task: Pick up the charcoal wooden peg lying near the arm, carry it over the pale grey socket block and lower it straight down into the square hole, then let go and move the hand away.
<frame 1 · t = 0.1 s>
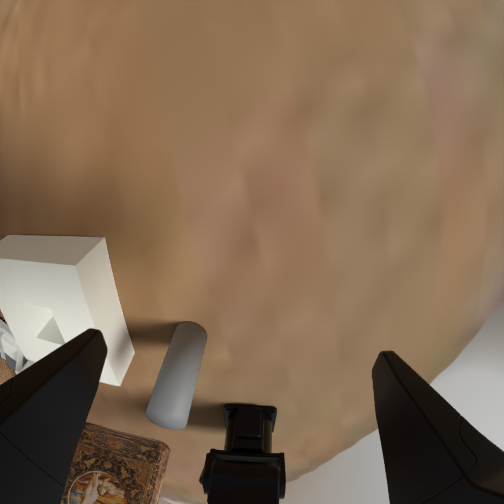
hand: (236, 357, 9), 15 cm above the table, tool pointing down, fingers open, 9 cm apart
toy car: (10, 336, 33), on the table
socket block: (66, 295, 27), on the table
book: (127, 438, 42), on the table
peg: (191, 333, 28), on the table
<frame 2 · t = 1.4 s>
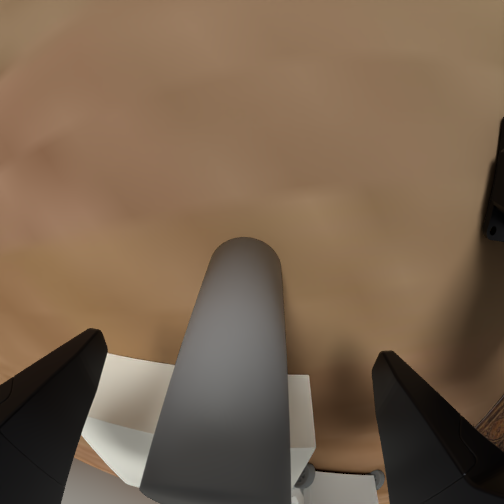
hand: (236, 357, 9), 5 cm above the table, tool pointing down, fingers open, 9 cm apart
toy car: (300, 485, 28), on the table
socket block: (200, 423, 20), on the table
peg: (245, 270, 13), on the table
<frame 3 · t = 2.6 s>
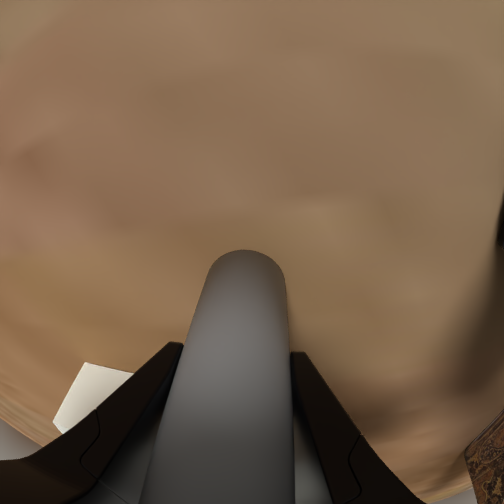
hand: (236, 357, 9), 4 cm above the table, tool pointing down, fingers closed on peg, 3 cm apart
socket block: (199, 436, 19), on the table
peg: (245, 285, 12), on the table, touching gripper
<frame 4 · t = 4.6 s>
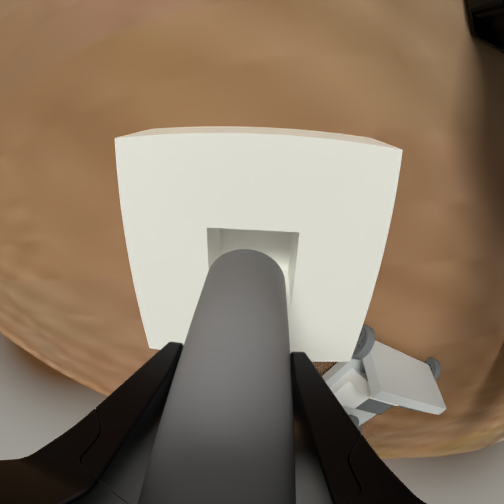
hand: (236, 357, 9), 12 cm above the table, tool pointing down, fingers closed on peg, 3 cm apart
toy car: (345, 389, 29), on the table
socket block: (256, 231, 20), on the table
peg: (245, 284, 12), point 8 cm above the table, touching gripper
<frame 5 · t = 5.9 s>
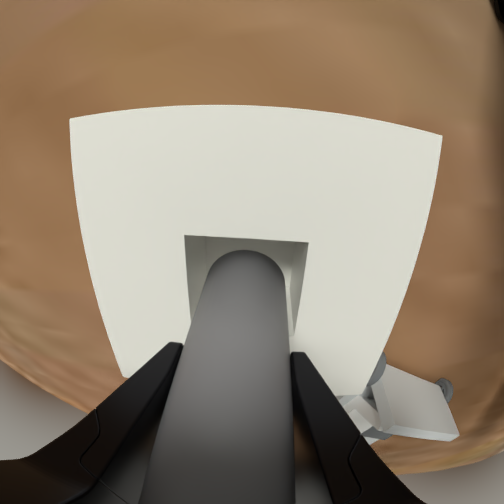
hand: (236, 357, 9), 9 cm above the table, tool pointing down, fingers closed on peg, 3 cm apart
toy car: (347, 412, 25), on the table
socket block: (250, 239, 16), on the table
peg: (245, 285, 12), point 5 cm above the table, touching gripper
when the fingers open (7 cm above the table, at t = 6.8 s): peg drops 2 cm, resting on socket block.
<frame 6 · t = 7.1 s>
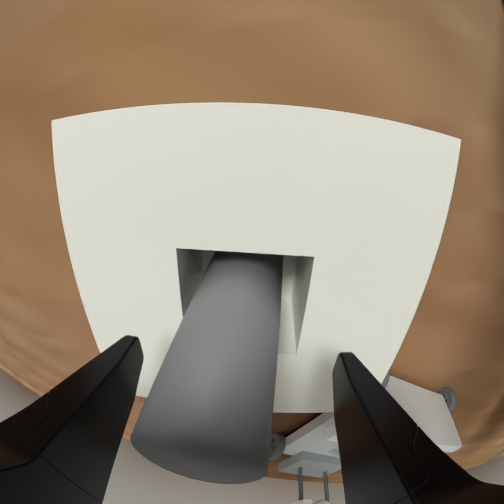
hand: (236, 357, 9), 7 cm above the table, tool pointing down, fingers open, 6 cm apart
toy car: (347, 422, 24), on the table
socket block: (250, 248, 15), on the table
peg: (249, 257, 14), point 1 cm above the table, touching socket block
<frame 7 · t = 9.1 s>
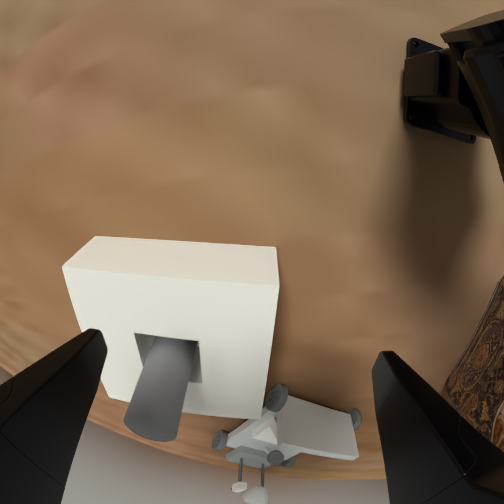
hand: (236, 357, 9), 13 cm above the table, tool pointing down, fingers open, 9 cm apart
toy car: (276, 426, 33), on the table
socket block: (183, 317, 24), on the table
book: (486, 332, 25), on the table
peg: (181, 324, 23), point 1 cm above the table, touching socket block
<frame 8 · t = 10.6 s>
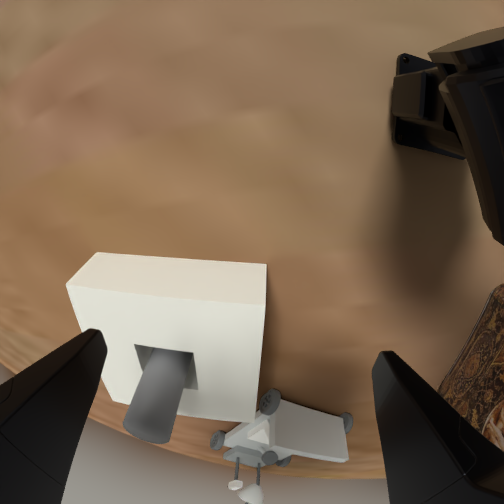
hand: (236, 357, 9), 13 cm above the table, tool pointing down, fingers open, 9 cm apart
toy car: (271, 428, 34), on the table
socket block: (181, 327, 25), on the table
book: (479, 340, 25), on the table
peg: (179, 334, 24), point 1 cm above the table, touching socket block
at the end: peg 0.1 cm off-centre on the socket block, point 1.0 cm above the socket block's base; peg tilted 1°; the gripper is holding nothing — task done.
